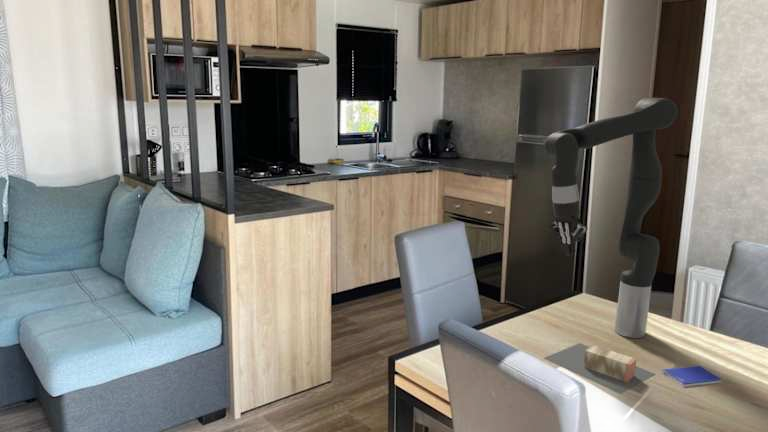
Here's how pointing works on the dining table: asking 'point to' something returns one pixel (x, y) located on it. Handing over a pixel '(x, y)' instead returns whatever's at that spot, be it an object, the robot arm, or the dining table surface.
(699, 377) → the hard drive
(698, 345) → the dining table surface
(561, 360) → the rubber mat
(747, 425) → the dining table surface
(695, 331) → the dining table surface
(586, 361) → the birch block
